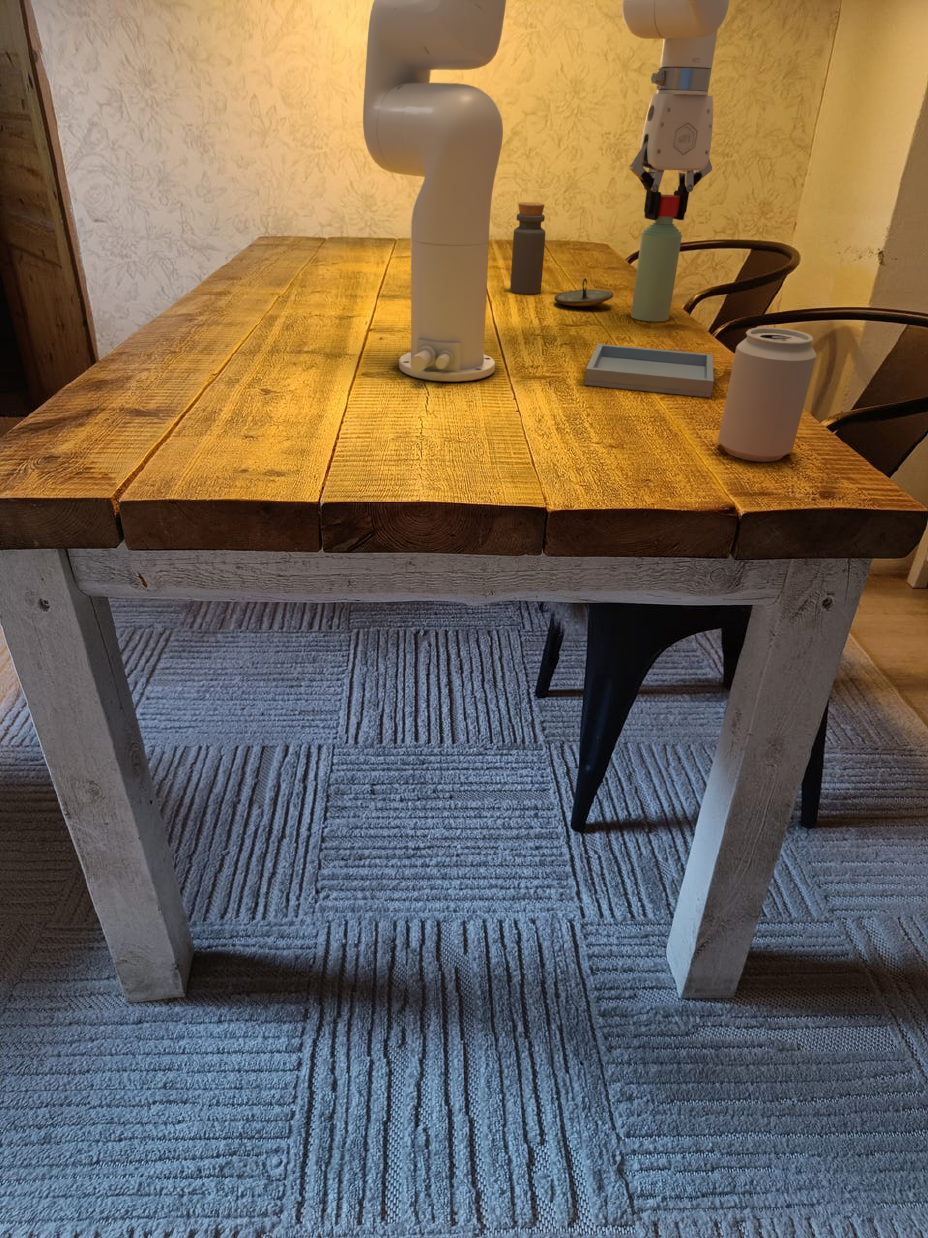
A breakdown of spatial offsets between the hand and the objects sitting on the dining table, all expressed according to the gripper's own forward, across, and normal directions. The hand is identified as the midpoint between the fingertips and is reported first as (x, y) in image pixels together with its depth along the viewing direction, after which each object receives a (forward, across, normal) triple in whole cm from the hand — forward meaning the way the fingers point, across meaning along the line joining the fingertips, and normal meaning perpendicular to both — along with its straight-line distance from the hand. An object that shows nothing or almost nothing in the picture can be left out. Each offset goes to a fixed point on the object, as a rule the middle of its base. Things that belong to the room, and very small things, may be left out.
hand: (664, 217), depth 133 cm
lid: (+15, -8, +10) cm, 20 cm away
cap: (0, 0, 0) cm, 0 cm away
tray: (+15, -18, -33) cm, 41 cm away
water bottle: (+15, 0, 0) cm, 15 cm away
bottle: (+16, -13, +24) cm, 32 cm away
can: (+15, -21, -61) cm, 66 cm away
